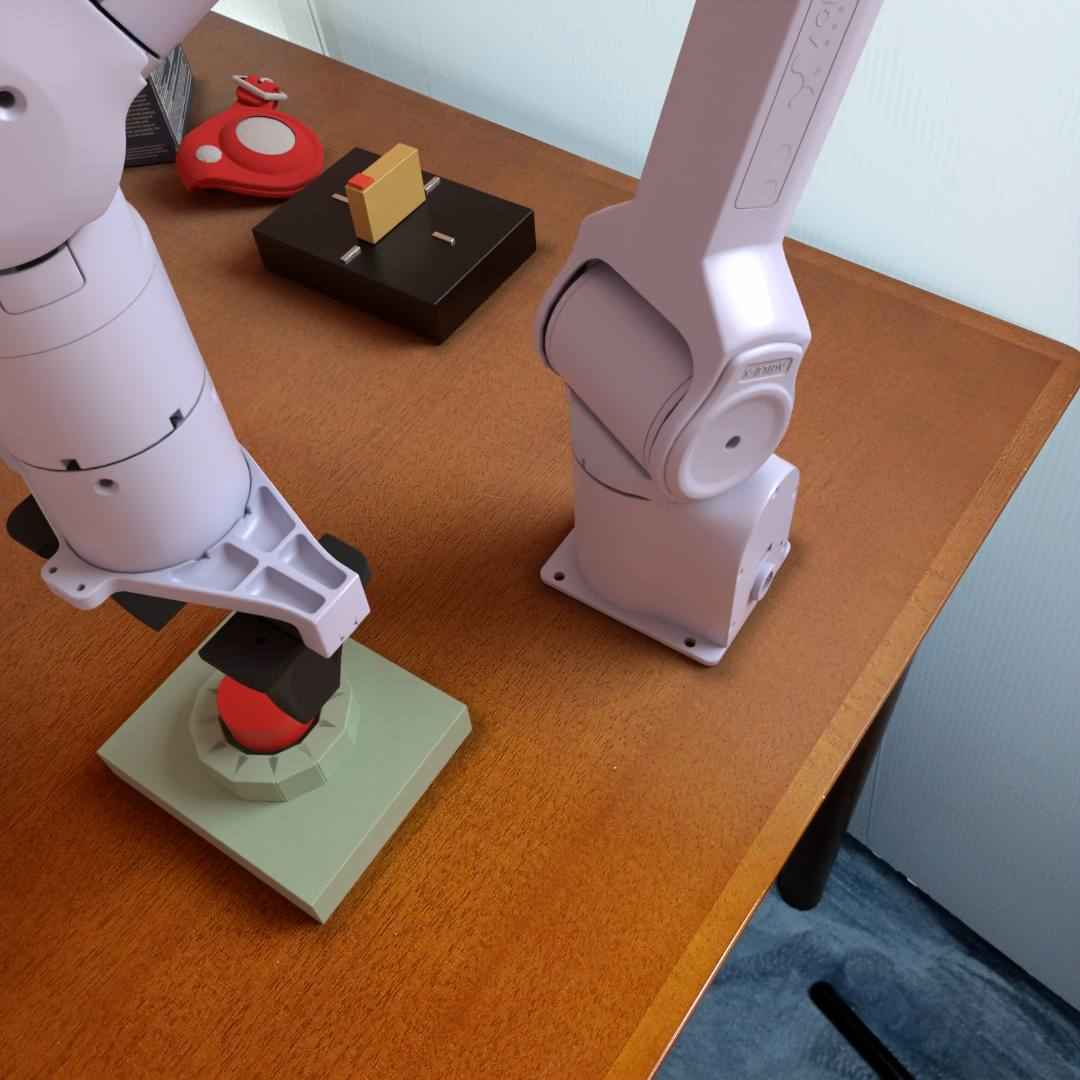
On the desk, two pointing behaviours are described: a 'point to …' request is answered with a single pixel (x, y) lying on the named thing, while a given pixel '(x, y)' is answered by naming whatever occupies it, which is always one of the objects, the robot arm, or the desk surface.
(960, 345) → the desk surface
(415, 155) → the thumb turn
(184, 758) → the alarm block
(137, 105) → the small box
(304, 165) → the tracker holder
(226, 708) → the alarm button
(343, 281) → the plate
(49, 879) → the desk surface
